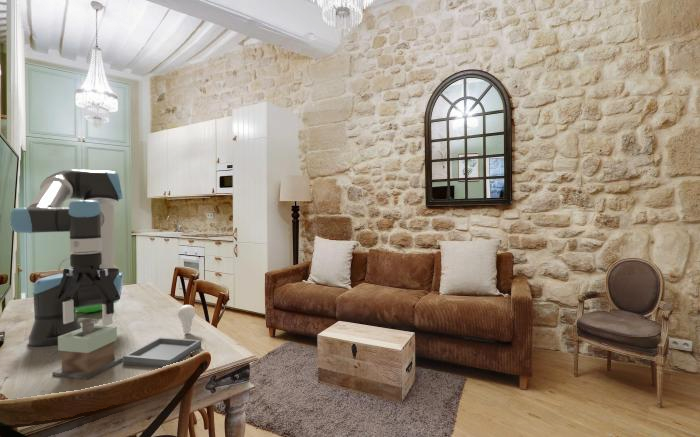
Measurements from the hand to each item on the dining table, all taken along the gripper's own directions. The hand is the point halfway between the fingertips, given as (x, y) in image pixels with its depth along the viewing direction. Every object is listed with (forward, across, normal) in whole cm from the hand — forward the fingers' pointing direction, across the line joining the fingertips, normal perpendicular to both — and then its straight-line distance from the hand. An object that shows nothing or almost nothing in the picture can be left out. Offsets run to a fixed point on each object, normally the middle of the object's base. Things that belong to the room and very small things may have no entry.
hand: (87, 323), depth 106 cm
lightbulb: (+14, +11, +31) cm, 36 cm away
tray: (+14, +16, +12) cm, 24 cm away
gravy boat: (+13, -50, +48) cm, 71 cm away
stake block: (+14, 0, 0) cm, 14 cm away
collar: (+7, 0, 0) cm, 7 cm away
